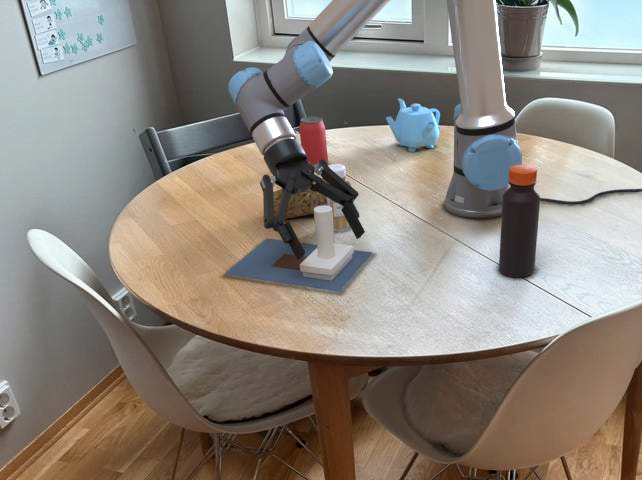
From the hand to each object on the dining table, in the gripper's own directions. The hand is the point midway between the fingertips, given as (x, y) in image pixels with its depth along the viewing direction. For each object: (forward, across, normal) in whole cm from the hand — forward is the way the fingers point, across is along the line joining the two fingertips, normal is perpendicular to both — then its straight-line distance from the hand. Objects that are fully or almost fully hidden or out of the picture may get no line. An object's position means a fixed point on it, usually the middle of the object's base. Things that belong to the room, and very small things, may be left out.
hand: (332, 245), depth 136 cm
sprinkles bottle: (-8, -13, -16) cm, 22 cm away
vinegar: (+20, -27, +12) cm, 36 cm away
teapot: (-30, -61, -38) cm, 78 cm away
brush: (+2, 0, -5) cm, 6 cm away
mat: (-1, +3, -9) cm, 10 cm away
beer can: (-34, -32, -42) cm, 63 cm away
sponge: (-16, -14, -25) cm, 33 cm away
